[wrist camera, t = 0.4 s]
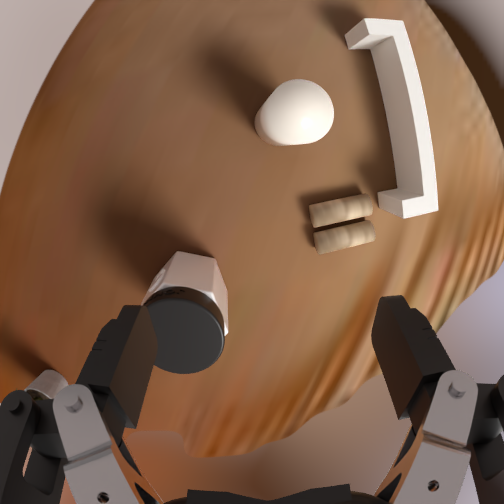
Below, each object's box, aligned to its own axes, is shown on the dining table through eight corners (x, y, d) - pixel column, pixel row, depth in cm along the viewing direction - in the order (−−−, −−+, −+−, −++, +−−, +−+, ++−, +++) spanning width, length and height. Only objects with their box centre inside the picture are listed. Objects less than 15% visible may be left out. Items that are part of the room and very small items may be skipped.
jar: (188, 235, 35) (171, 275, 24) (240, 279, 38) (247, 334, 26) (143, 287, 37) (114, 342, 26) (193, 326, 39) (184, 389, 28)
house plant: (26, 396, 42) (-9, 456, 26) (10, 338, 38) (-41, 398, 22) (91, 418, 44) (65, 489, 28) (81, 361, 40) (40, 439, 24)
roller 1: (307, 203, 36) (313, 206, 33) (361, 192, 36) (370, 194, 33) (311, 225, 36) (317, 229, 34) (364, 213, 36) (373, 216, 34)
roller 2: (312, 228, 36) (319, 238, 34) (365, 216, 36) (375, 225, 34) (314, 248, 38) (321, 258, 35) (366, 235, 38) (375, 244, 35)
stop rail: (344, 35, 29) (364, 18, 23) (379, 35, 29) (402, 20, 23) (379, 208, 36) (403, 218, 30) (411, 201, 36) (438, 210, 31)
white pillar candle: (249, 105, 31) (261, 84, 21) (295, 97, 31) (325, 75, 21) (260, 150, 33) (275, 149, 23) (305, 141, 33) (339, 138, 23)
